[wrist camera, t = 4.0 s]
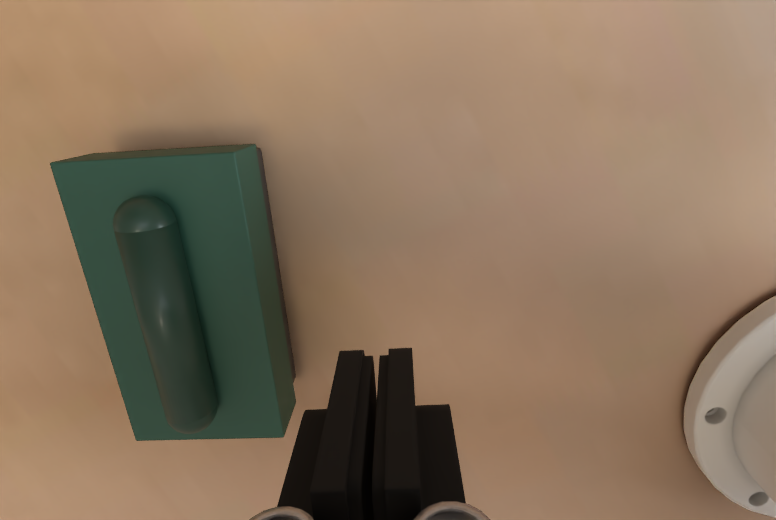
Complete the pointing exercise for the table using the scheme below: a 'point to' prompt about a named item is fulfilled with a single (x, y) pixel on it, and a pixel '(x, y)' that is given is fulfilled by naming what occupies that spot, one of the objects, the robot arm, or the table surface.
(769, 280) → the table surface
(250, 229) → the scrub brush
